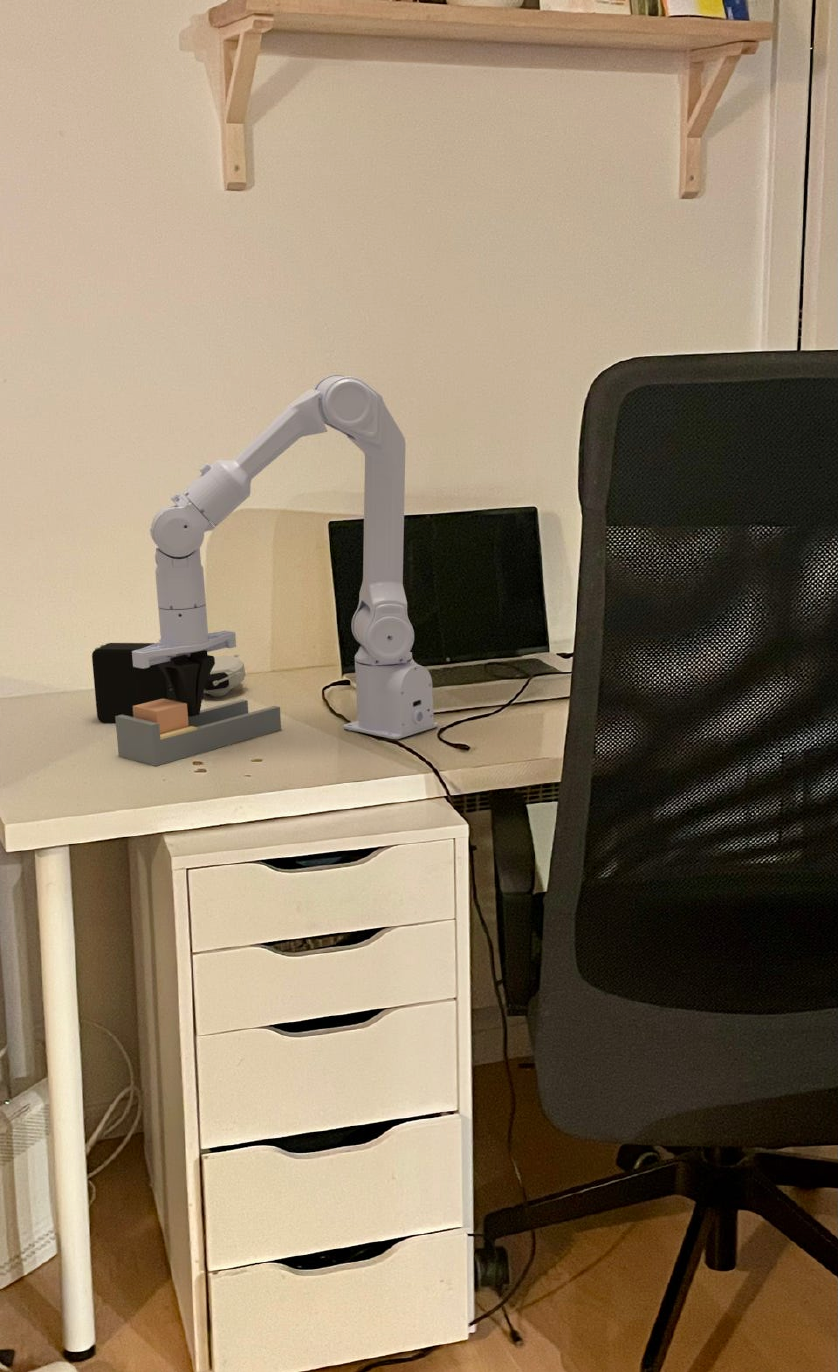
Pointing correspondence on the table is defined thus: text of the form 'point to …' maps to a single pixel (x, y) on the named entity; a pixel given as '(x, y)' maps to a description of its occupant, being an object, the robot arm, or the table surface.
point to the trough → (194, 732)
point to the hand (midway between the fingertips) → (190, 714)
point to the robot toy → (225, 675)
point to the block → (163, 714)
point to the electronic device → (125, 681)
